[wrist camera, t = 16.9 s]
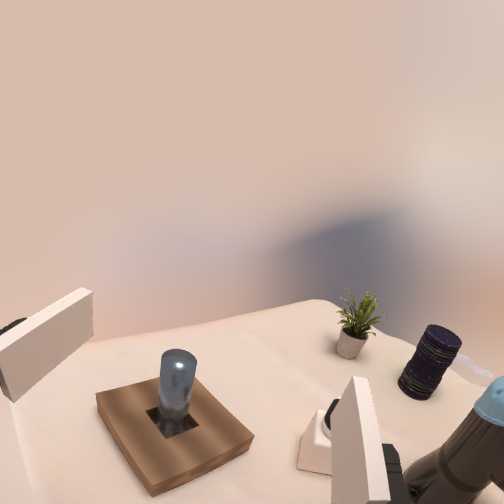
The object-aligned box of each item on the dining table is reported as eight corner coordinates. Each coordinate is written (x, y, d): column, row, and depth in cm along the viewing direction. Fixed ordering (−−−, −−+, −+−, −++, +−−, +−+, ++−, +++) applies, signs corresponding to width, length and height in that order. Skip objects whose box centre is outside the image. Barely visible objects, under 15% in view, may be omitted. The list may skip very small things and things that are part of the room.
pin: (174, 421, 38) (184, 345, 34) (189, 439, 35) (203, 366, 31) (151, 429, 35) (155, 353, 31) (166, 449, 32) (173, 375, 28)
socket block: (184, 385, 46) (187, 368, 45) (247, 450, 36) (254, 435, 35) (98, 410, 35) (95, 393, 33) (152, 497, 24) (152, 485, 23)
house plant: (319, 329, 77) (340, 274, 72) (366, 343, 74) (389, 289, 69) (315, 357, 63) (340, 294, 59) (370, 373, 61) (400, 312, 56)
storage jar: (430, 383, 59) (459, 333, 55) (431, 405, 50) (465, 351, 46) (398, 370, 63) (425, 319, 59) (395, 392, 55) (427, 336, 50)
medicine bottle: (340, 477, 32) (380, 429, 29) (295, 469, 33) (329, 420, 30) (341, 444, 39) (375, 395, 36) (301, 435, 40) (330, 384, 37)
